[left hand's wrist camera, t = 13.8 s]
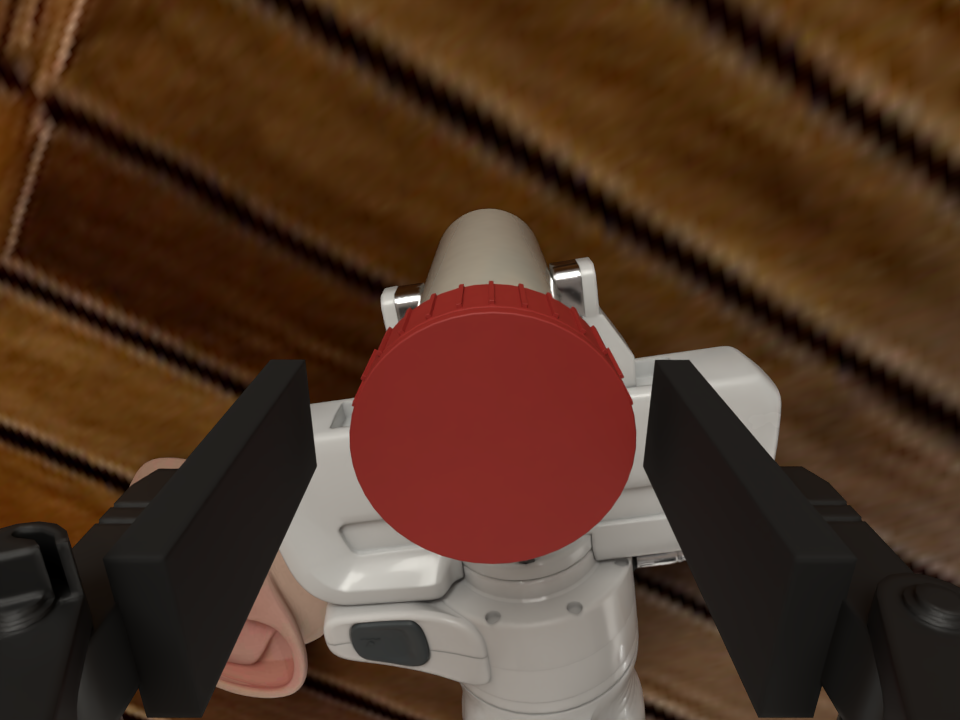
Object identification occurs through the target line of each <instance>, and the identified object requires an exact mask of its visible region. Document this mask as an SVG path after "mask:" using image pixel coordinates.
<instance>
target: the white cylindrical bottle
mask: <svg viewBox="0 0 960 720" xmlns="http://www.w3.org/2000/svg"><path fill="white" fill-rule="evenodd" d="M489 281H494V284H505V285H513V286H518V284H519V283H520V284H523V285H524V288H528V289H531V290H534V291H537V292H540V293H543V294H545V295H546V293H547V292H549V293H551V294H552V297H553V298H554V299H556V300H558V301H560V302H561V303H562V301H561V298H560V296H559V294H558V291H557V289H556V286H555V284H554V281H553V279H552V276H551V274H550V271H549V269H548V266H547V264H546V261H545V259H544V256H543V254H542V251H541V249H540V246H539V244H538V242H537V239H536V237H535V235H534V234H533V232H532V231H531V229H530V228H529V227H528V226H527V225H526V224H525V223H524V222H523V221H522V220H521V219H519V218H518V217H516V216H514V215H512V214H510V213H508V212H505V211H502V210H497V209H481V210H476V211H473V212H470V213H467V214H465V215H463V216H461V217H460V218H459V219H457V220H456V221H455V222H453V223H452V224H451V225H450V226H449V228H448V229H447V230H446V232H445V233H444V235H443V236H442V238H441V241H440V243H439V246H438V249H437V251H436V254H435V257H434V260H433V263H432V265H431V268H430V271H429V274H428V277H427V280H426V282H425V285H424V288H423V291H422V294H421V297H420V299H419V302H418V305H417V306H419V305H420V304H422V303H423V302H425V301H427V300H429V299H430V297H431V294H434V293H436V295H439V294H442V293H445V292H447V291H450V290H453V289H456V288H459V285H460V284H464V287H466V286H471V285H480V284H489Z"/></svg>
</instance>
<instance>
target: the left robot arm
mask: <svg viewBox="0 0 960 720" xmlns="http://www.w3.org/2000/svg"><path fill="white" fill-rule="evenodd" d="M316 468H317V461H316V452H315V443H314V434H313V425H312V416H311V408H310V399H309V390H308V381H307V372H306V363H305V360H270V361H269V362H268V364H267V365H266V366H265V367H264V368H263V370H262V371H261V372H260V373H259V374H258V375H257V377H256V378H255V379H254V380H253V381H252V383H251V384H250V385H249V386H248V387H247V388H246V390H245V391H244V392H243V393H242V394H241V396H240V397H239V398H238V399H237V400H236V401H235V403H234V404H233V405H232V406H231V407H230V409H229V410H228V411H227V412H226V413H225V414H224V416H223V417H222V418H221V419H220V420H219V422H218V423H217V424H216V425H215V426H214V427H213V429H212V430H211V431H210V432H209V433H208V435H207V436H206V437H205V438H204V439H203V440H202V442H201V443H200V444H199V445H198V446H197V448H196V449H195V450H194V451H193V452H192V453H191V455H190V456H189V457H188V458H187V459H186V460H185V462H184V463H183V464H182V465H181V466H180V468H179V469H157V470H155V471H154V472H152V473H150V474H149V475H147V476H145V477H144V478H142V479H141V480H139V481H137V482H136V483H134V484H132V485H131V486H130V487H129V488H128V489H127V490H126V492H125V493H124V494H123V495H122V496H121V497H120V498H119V499H118V500H117V501H116V502H115V503H114V507H113V508H110V509H109V510H108V511H107V512H106V513H105V514H104V515H103V516H102V517H101V518H100V519H99V524H95V525H94V526H93V527H92V528H91V529H90V530H89V531H88V532H87V533H86V534H85V535H84V536H83V537H82V539H81V540H80V541H79V542H78V543H77V544H76V545H75V546H74V547H73V548H71V544H70V541H69V538H68V534H67V531H66V530H65V529H63V528H62V527H60V526H59V525H57V524H54V523H46V522H30V523H21V524H15V525H12V526H8V527H4V528H1V529H0V720H123V717H122V715H123V713H124V711H125V710H126V708H127V706H128V705H129V703H130V701H131V700H132V698H133V696H134V694H135V693H136V691H137V689H138V688H139V691H140V694H141V698H142V702H143V705H144V709H145V712H146V716H147V718H202V715H203V713H204V711H205V709H206V707H207V705H208V702H209V700H210V698H211V696H212V694H213V692H214V689H215V687H216V685H217V683H218V681H219V679H220V676H221V674H222V672H223V670H224V668H225V665H226V663H227V661H228V659H229V657H230V655H231V652H232V650H233V648H234V646H235V644H236V642H237V639H238V637H239V635H240V633H241V631H242V629H243V626H244V624H245V622H246V620H247V618H248V616H249V613H250V611H251V609H252V607H253V605H254V602H255V600H256V598H257V596H258V594H259V592H260V589H261V587H262V585H263V583H264V581H265V579H266V576H267V574H268V572H269V570H270V568H271V566H272V563H273V561H274V559H275V557H276V555H277V553H278V550H279V548H280V546H281V544H282V542H283V540H284V537H285V535H286V533H287V531H288V529H289V526H290V524H291V522H292V520H293V518H294V516H295V513H296V511H297V509H298V507H299V505H300V503H301V500H302V498H303V496H304V494H305V492H306V490H307V487H308V485H309V483H310V481H311V479H312V477H313V474H314V472H315V470H316ZM643 468H644V470H645V472H646V474H647V477H648V479H649V481H650V483H651V485H652V487H653V490H654V492H655V494H656V496H657V498H658V500H659V503H660V505H661V507H662V509H663V511H664V513H665V516H666V518H667V520H668V522H669V524H670V526H671V529H672V531H673V533H674V535H675V537H676V540H677V542H678V544H679V546H680V548H681V550H682V553H683V555H684V557H685V559H686V561H687V563H688V566H689V568H690V570H691V572H692V574H693V576H694V579H695V581H696V583H697V585H698V587H699V589H700V592H701V594H702V596H703V598H704V600H705V602H706V605H707V607H708V609H709V611H710V613H711V616H712V618H713V620H714V622H715V624H716V626H717V629H718V631H719V633H720V635H721V637H722V639H723V642H724V644H725V646H726V648H727V650H728V652H729V655H730V657H731V659H732V661H733V663H734V665H735V668H736V670H737V672H738V674H739V676H740V679H741V681H742V683H743V685H744V687H745V689H746V692H747V694H748V696H749V698H750V700H751V702H752V705H753V707H754V709H755V711H756V713H757V715H758V718H813V716H814V712H815V709H816V705H817V702H818V698H819V694H820V691H821V687H822V686H823V688H824V690H825V691H826V693H827V695H828V696H829V698H830V700H831V701H832V703H833V705H834V706H835V708H836V710H837V711H838V713H839V714H838V717H837V720H960V588H959V587H957V586H955V585H953V584H951V583H949V582H946V581H943V580H940V579H937V578H934V577H931V576H927V575H922V574H914V573H913V572H912V571H911V569H910V568H909V567H908V566H907V565H906V564H905V563H904V562H903V561H902V560H901V559H900V558H899V557H898V556H897V555H896V554H895V553H894V551H893V550H892V549H891V548H890V547H889V546H888V545H887V544H886V543H885V542H884V541H883V540H882V539H881V538H880V537H879V536H878V534H877V533H876V532H875V531H874V530H873V529H872V528H871V527H870V526H869V525H868V524H867V523H866V522H865V521H862V520H861V516H860V515H859V514H858V513H857V512H856V511H855V510H854V509H853V508H852V507H851V506H850V505H847V504H846V501H845V499H844V498H843V497H842V496H841V495H840V494H839V493H838V492H837V491H836V490H835V489H834V488H833V487H832V486H831V485H830V484H829V483H828V482H827V481H825V480H823V479H822V478H820V477H818V476H817V475H815V474H813V473H812V472H810V471H808V470H807V469H805V468H803V467H780V466H779V465H778V464H777V463H776V462H775V461H774V459H773V458H772V457H771V456H770V455H769V453H768V452H767V451H766V450H765V449H764V448H763V446H762V445H761V444H760V443H759V442H758V440H757V439H756V438H755V437H754V436H753V435H752V433H751V432H750V431H749V430H748V429H747V427H746V426H745V425H744V424H743V423H742V422H741V420H740V419H739V418H738V417H737V416H736V414H735V413H734V412H733V411H732V410H731V409H730V407H729V406H728V405H727V404H726V403H725V401H724V400H723V399H722V398H721V397H720V396H719V394H718V393H717V392H716V391H715V390H714V388H713V387H712V386H711V385H710V384H709V383H708V381H707V380H706V379H705V378H704V377H703V375H702V374H701V373H700V372H699V371H698V370H697V368H696V367H695V366H694V365H693V364H692V362H691V361H690V360H655V363H654V372H653V381H652V390H651V399H650V408H649V416H648V425H647V434H646V443H645V452H644V461H643Z"/></svg>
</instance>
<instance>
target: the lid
mask: <svg viewBox="0 0 960 720" xmlns="http://www.w3.org/2000/svg"><path fill="white" fill-rule="evenodd" d="M622 378H624V375H623V373H622V372H621V370H620V368H619V366H618V364H617V362H616V360H615V358H614V356H613V354H612V352H611V351H610V349H609V347H608V348H606V346H605V345H604V343H603V341H602V339H601V337H600V335H599V333H598V331H597V329H596V327H595V326H594V325H593V326H591V327H590V326H589V325H588V324H587V323H586V321H585V320H583V319H582V318H581V317H580V316H579V314H578V312H577V310H576V308H575V307H573V306H572V307H571V308H569V307H567V306H566V305H564V304H563V303H561V302H560V301H558V300H556V299H554V298H553V297H552V294H551V293H549V292H547V293H546V295H545V294H543V293H540V292H537V291H534V290H531V289H528V288H524V285H523V284H520V283H519V284H518V286H513V285H505V284H494V281H489V284H480V285H471V286H466V287H464V284H460V285H459V288H456V289H453V290H450V291H447V292H445V293H442V294H439V295H436V293H434V294H431V297H430V299H429V300H427V301H425V302H423V303H422V304H420V305H419V306H417V307H416V308H414V309H413V310H412V309H411V308H409V309H407V311H406V313H405V316H404V317H403V318H402V319H401V320H400V321H399V322H398V323H397V324H396V325H395V326H394V328H391V327H389V328H388V329H387V331H386V333H385V335H384V337H383V340H382V342H381V344H380V346H379V348H378V350H376V349H374V351H373V353H372V356H371V358H370V360H369V362H368V364H367V366H366V368H365V370H364V373H363V375H362V377H361V380H362V383H361V385H360V387H359V389H358V391H357V394H356V396H355V398H354V400H353V402H352V406H353V407H354V408H353V412H352V415H351V423H350V431H349V438H350V453H351V459H352V465H353V468H354V471H355V474H356V477H357V480H358V482H359V484H360V486H361V488H362V490H363V492H364V494H365V496H366V498H367V499H368V501H369V502H370V504H371V505H372V507H373V508H374V509H375V511H376V512H377V513H378V514H379V515H380V516H381V517H382V518H383V520H384V521H385V522H386V523H387V524H389V525H390V526H391V527H392V528H393V529H394V530H395V531H397V532H398V533H399V534H401V535H402V536H404V537H405V538H406V539H408V540H409V541H411V542H413V543H414V544H416V545H418V546H420V547H422V548H424V549H426V550H428V551H431V552H433V553H436V554H438V555H441V556H444V557H448V558H451V559H455V560H459V561H465V562H471V563H482V564H503V563H514V562H520V561H526V560H530V559H534V558H537V557H541V556H544V555H547V554H549V553H552V552H554V551H557V550H559V549H561V548H563V547H565V546H567V545H569V544H571V543H573V542H574V541H576V540H577V539H579V538H580V537H582V536H583V535H585V534H586V533H587V532H589V531H590V530H591V529H592V528H593V527H594V526H596V525H597V524H598V523H599V522H600V521H601V520H602V519H603V518H604V517H605V515H606V514H607V513H608V512H609V511H610V510H611V509H612V507H613V506H614V504H615V503H616V501H617V500H618V498H619V497H620V495H621V493H622V491H623V489H624V487H625V485H626V483H627V481H628V478H629V475H630V472H631V469H632V466H633V463H634V457H635V451H636V424H635V416H634V412H633V408H632V405H633V400H632V398H631V396H630V394H629V392H628V391H627V389H626V387H625V385H624V383H623V381H622Z"/></svg>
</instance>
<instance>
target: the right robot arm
mask: <svg viewBox="0 0 960 720" xmlns="http://www.w3.org/2000/svg"><path fill="white" fill-rule="evenodd" d="M549 268H550V274H551V276H552V279H553V281H554V284H555V286H556V289H557V291H558V294H559V296H560V298H561V301H562V303H563V304H564V305H566V306H567V307H569V308H571V307H572V306H573V307H575V308H576V310H577V312H578V314H579V316H580V317H581V318H582V319H583V320H585V321H586V323H587V324H588V325H589V326H590V327H591V326H593V325H594V326H595V327H596V329H597V331H598V333H599V335H600V337H601V339H602V341H603V343H604V345H605V346H606V348H608V347H609V349H610V351H611V352H612V354H613V356H614V358H615V360H616V362H617V364H618V366H619V368H620V370H621V372H622V373H623V375H624V378H622V381H623V383H624V385H625V387H626V389H627V391H628V392H629V394H630V396H631V398H632V400H633V405H632V408H633V412H634V416H635V424H636V451H635V457H634V463H633V466H632V469H631V472H630V475H629V478H628V481H627V483H626V485H625V487H624V489H623V491H622V493H621V495H620V497H619V498H618V500H617V501H616V503H615V504H614V506H613V507H612V509H611V510H610V511H609V512H608V513H607V514H606V515H605V517H604V518H603V519H602V520H601V521H600V522H599V523H598V524H597V525H596V526H594V527H593V528H592V529H591V530H590V531H589V532H587V533H586V534H585V535H583V536H582V537H580V538H579V539H577V540H576V541H574V542H573V543H571V544H569V545H567V546H565V547H563V548H561V549H559V550H557V551H554V552H552V553H549V554H547V555H544V556H541V557H537V558H534V559H530V560H526V561H520V562H514V563H503V564H482V563H471V562H465V561H459V560H455V559H451V558H448V557H444V556H441V555H438V554H436V553H433V552H431V551H428V550H426V549H424V548H422V547H420V546H418V545H416V544H414V543H413V542H411V541H409V540H408V539H406V538H405V537H404V536H402V535H401V534H399V533H398V532H397V531H395V530H394V529H393V528H392V527H391V526H390V525H389V524H387V523H386V522H385V521H384V520H383V518H382V517H381V516H380V515H379V514H378V513H377V512H376V511H375V509H374V508H373V507H372V505H371V504H370V502H369V501H368V499H367V498H366V496H365V494H364V492H363V490H362V488H361V486H360V484H359V482H358V480H357V477H356V474H355V471H354V468H353V465H352V459H351V453H350V438H349V431H350V423H351V415H352V412H353V408H354V407H353V406H352V402H353V400H354V398H351V399H343V400H336V401H329V402H322V403H315V404H310V408H311V416H312V425H313V434H314V443H315V452H316V461H317V468H316V470H315V472H314V474H313V477H312V479H311V481H310V483H309V485H308V487H307V490H306V492H305V494H304V496H303V498H302V500H301V503H300V505H299V507H298V509H297V511H296V513H295V516H294V518H293V520H292V522H291V524H290V526H289V529H288V531H287V533H286V535H285V537H284V540H283V542H282V544H281V546H280V548H279V551H280V553H281V555H282V557H283V559H284V561H285V563H286V565H287V567H288V569H289V570H290V572H291V573H292V575H293V577H294V578H295V579H296V581H297V582H298V583H299V584H300V585H301V586H302V587H303V588H304V589H305V590H306V591H307V592H308V593H310V594H311V595H313V596H314V597H316V598H318V599H320V600H322V601H325V602H327V607H326V613H325V620H324V628H323V631H324V637H325V640H326V643H327V646H328V648H329V649H330V651H331V652H332V653H333V654H335V655H336V656H338V657H340V658H344V659H347V660H353V661H360V662H368V663H376V664H383V665H390V666H396V667H402V668H408V669H412V670H417V671H422V672H426V673H430V674H434V675H438V676H441V677H445V678H448V679H451V680H454V681H457V682H459V683H460V685H461V687H462V689H463V694H462V717H463V720H645V708H644V699H643V691H642V687H641V683H640V680H639V678H638V675H637V672H636V670H635V668H634V665H635V661H636V657H637V652H638V638H639V635H638V621H637V609H636V596H635V584H634V576H633V571H635V569H636V568H637V569H638V568H646V567H655V566H663V565H670V564H675V563H677V562H678V563H680V562H683V560H684V561H686V559H685V557H684V555H683V553H682V550H681V548H680V546H679V544H678V542H677V540H676V537H675V535H674V533H673V531H672V529H671V526H670V524H669V522H668V520H667V518H666V516H665V513H664V511H663V509H662V507H661V505H660V503H659V500H658V498H657V496H656V494H655V492H654V490H653V487H652V485H651V483H650V481H649V479H648V477H647V474H646V472H645V470H644V468H643V461H644V452H645V443H646V434H647V425H648V416H649V408H650V399H651V390H652V381H653V372H654V363H655V360H690V361H691V362H692V364H693V365H694V366H695V367H696V368H697V370H698V371H699V372H700V373H701V374H702V375H703V377H704V378H705V379H706V380H707V381H708V383H709V384H710V385H711V386H712V387H713V388H714V390H715V391H716V392H717V393H718V394H719V396H720V397H721V398H722V399H723V400H724V401H725V403H726V404H727V405H728V406H729V407H730V409H731V410H732V411H733V412H734V413H735V414H736V416H737V417H738V418H739V419H740V420H741V422H742V423H743V424H744V425H745V426H746V427H747V429H748V430H749V431H750V432H751V433H752V435H753V436H754V437H755V438H756V439H757V440H758V442H759V443H760V444H761V445H762V446H763V448H764V449H765V450H766V451H767V452H768V453H769V455H770V456H771V457H772V458H773V459H774V461H775V455H776V450H777V443H778V435H779V427H780V417H781V397H780V393H779V391H778V389H777V387H776V385H775V384H774V382H773V381H772V380H771V379H770V377H769V376H768V375H767V374H766V373H765V372H764V371H763V370H762V369H761V368H760V367H759V366H758V365H757V364H755V363H754V362H753V361H752V360H751V359H749V358H748V357H747V356H745V355H744V354H743V353H741V352H740V351H739V350H737V349H735V348H733V347H730V346H721V347H713V348H706V349H699V350H692V351H685V352H678V353H671V354H664V355H656V356H649V357H642V358H635V359H634V355H633V353H632V352H631V350H630V348H629V347H628V345H627V343H626V342H625V340H624V338H623V337H622V335H621V334H620V333H619V331H618V330H617V329H616V328H615V326H614V325H613V324H612V322H611V321H610V320H609V318H608V317H607V316H606V314H605V313H604V312H603V311H602V309H601V308H600V307H599V304H598V294H597V283H596V274H595V269H594V265H593V263H592V261H591V260H590V259H589V257H586V258H580V259H573V260H567V261H561V262H555V263H550V264H549ZM423 288H424V283H418V284H411V285H404V286H395V287H390V288H385V289H384V291H383V293H382V295H381V309H382V313H383V318H384V322H385V327H386V331H387V329H388V328H389V327H391V328H394V326H395V325H396V324H397V323H398V322H399V321H400V320H401V319H402V318H403V317H404V316H405V313H406V311H407V309H409V308H411V309H412V310H413V309H414V308H416V307H417V305H418V302H419V299H420V297H421V294H422V291H423Z"/></svg>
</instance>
